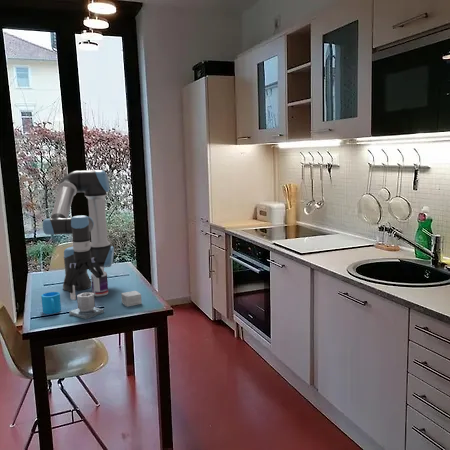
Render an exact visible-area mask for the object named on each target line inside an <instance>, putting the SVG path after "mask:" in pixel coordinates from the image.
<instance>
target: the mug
mask: <svg viewBox="0 0 450 450" xmlns="http://www.w3.org/2000/svg"><path fill="white" fill-rule="evenodd" d="M40 296H41V305H42V306H41V308H42V313H43V314H46V315H51V314H53V315H54V314H57V313H60V312H61V311H62V304H61V292H58V291H48V292H45V293H43V294H41V295H40Z"/></svg>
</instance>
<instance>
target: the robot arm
mask: <svg viewBox="0 0 450 450" xmlns="http://www.w3.org/2000/svg"><path fill="white" fill-rule="evenodd" d="M109 191H110V181H109V177H108V175H107V172H106V171H105V170H103V169H100V170H99V169H91V170H73V171H71V172H69V173H68V174H66V175H65V176H64V177H63V178H62V179H61V180H60V181H59V183H58V186H57V192H58V193H57V195H56V199H55V202H54V206H53V208H52V212H51V215H50V218H49V217H48V218H45V219H44V220H42V231H43V233H44V234H45V235H47V236H48V235H52V236H55V235H72V236H71V237H72V246H69V247H66V248H65V249H64V251H63V260H64V261H63V262H64V264H63V265H64V274H65V275H64V279H63V283H62V289H63V290H64V291H68V293H69V294H70V295H69V297H70V300H72V301H76V299H77V295H76V291H77V292H78V291H83V290H87V289H89V288H92V281H91V277H90V276H89V273H88V271H89V272H90V273H91V274H93V275H94V276H95V277H94V284H95V291H97V292H100V278H101V277H102V275H103V274H104V273H103V272H102V270H101V268H100V267H104V269H106V268H111V267H112V265H113V261H114V253H115V247H114V246H113V245H111V241H109V240H108V232H107V231H108V230H107V217H106V203H105V197H106V196H108V192H109ZM77 193H84V197H86V199H87V205H88V216H87V215H82V214H81V215H74V216H72V217H69V214H70V211H71V207H72V202H73V200H74V197H75V196H76V194H77ZM94 268H95V269H96V270H95V269H94Z"/></svg>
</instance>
